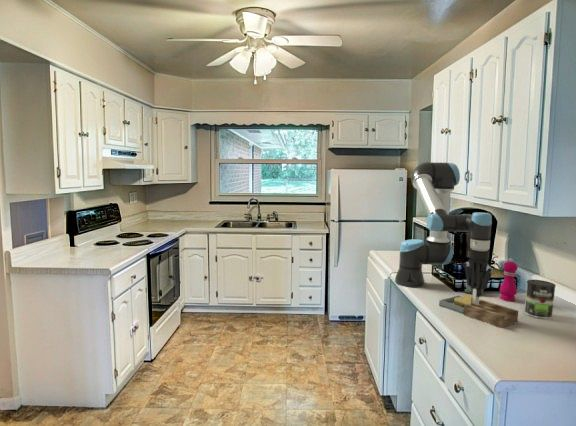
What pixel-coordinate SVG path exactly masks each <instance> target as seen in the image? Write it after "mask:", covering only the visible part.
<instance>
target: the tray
mask: <svg viewBox="0 0 576 426" xmlns="http://www.w3.org/2000/svg"><path fill="white" fill-rule="evenodd" d="M457 297H462V298H463V295H462V296H461V295H455V296H451V297H447V298H444V299H439V303H438V306H439V307H441V308H445V309H448V310H450V311H454V312H457V313H459V314H463V315H464V309H465V307H464V308H463V307H460V306H457V305H454V298H457ZM476 305H478V304H476Z"/></svg>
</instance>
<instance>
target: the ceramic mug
mask: <svg viewBox="0 0 576 426" xmlns="http://www.w3.org/2000/svg"><path fill="white" fill-rule="evenodd" d="M465 285H466V289H465V288H464V293H466V294H471V287H470V286H468V285H467V281H466V280H465ZM476 288H477V287H476ZM483 293H484V289H482V292H481V295H482V294H483Z"/></svg>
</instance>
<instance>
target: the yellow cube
mask: <svg viewBox="0 0 576 426" xmlns="http://www.w3.org/2000/svg"><path fill="white" fill-rule="evenodd" d="M472 296H473V295H471V293H466V294H463V295H462V297H463V299H462V304H463V305H465V304H470V305H473V306H475V305H476V304H472Z"/></svg>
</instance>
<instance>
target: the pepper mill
mask: <svg viewBox="0 0 576 426" xmlns="http://www.w3.org/2000/svg"><path fill="white" fill-rule="evenodd" d="M502 268H503V270H504V271H503V275H504V279H503V281H502V283H501V284H500V287H499V292H500V293H501V294H500V295H499V297H500V300H502V301H505V302H516V296H515V295H517V293H518V288H517V286H516V282H515V276H516V273H517V270H518V264H517V263H516V262H514V259H513V258H508V261H505V262H504V263H503V265H502Z"/></svg>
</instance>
